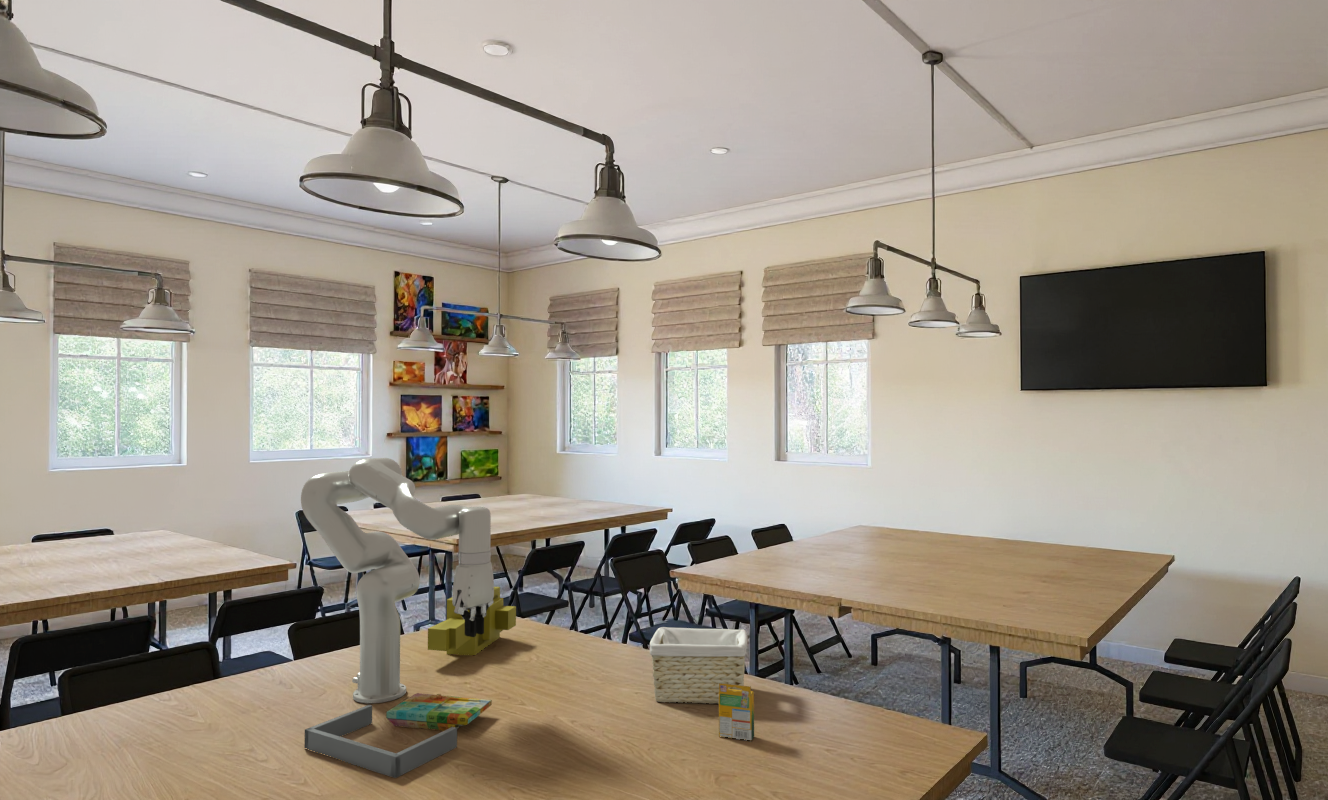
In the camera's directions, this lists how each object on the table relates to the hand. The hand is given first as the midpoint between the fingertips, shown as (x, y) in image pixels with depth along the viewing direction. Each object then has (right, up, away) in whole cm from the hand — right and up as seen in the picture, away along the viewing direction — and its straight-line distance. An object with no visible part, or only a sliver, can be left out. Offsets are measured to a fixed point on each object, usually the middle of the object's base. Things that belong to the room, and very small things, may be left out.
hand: (474, 634), depth 185 cm
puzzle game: (-5, -17, -10) cm, 21 cm away
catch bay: (-13, -16, -24) cm, 32 cm away
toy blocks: (-10, -19, +44) cm, 49 cm away
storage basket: (+55, -18, +7) cm, 58 cm away
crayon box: (+62, -17, -19) cm, 67 cm away
